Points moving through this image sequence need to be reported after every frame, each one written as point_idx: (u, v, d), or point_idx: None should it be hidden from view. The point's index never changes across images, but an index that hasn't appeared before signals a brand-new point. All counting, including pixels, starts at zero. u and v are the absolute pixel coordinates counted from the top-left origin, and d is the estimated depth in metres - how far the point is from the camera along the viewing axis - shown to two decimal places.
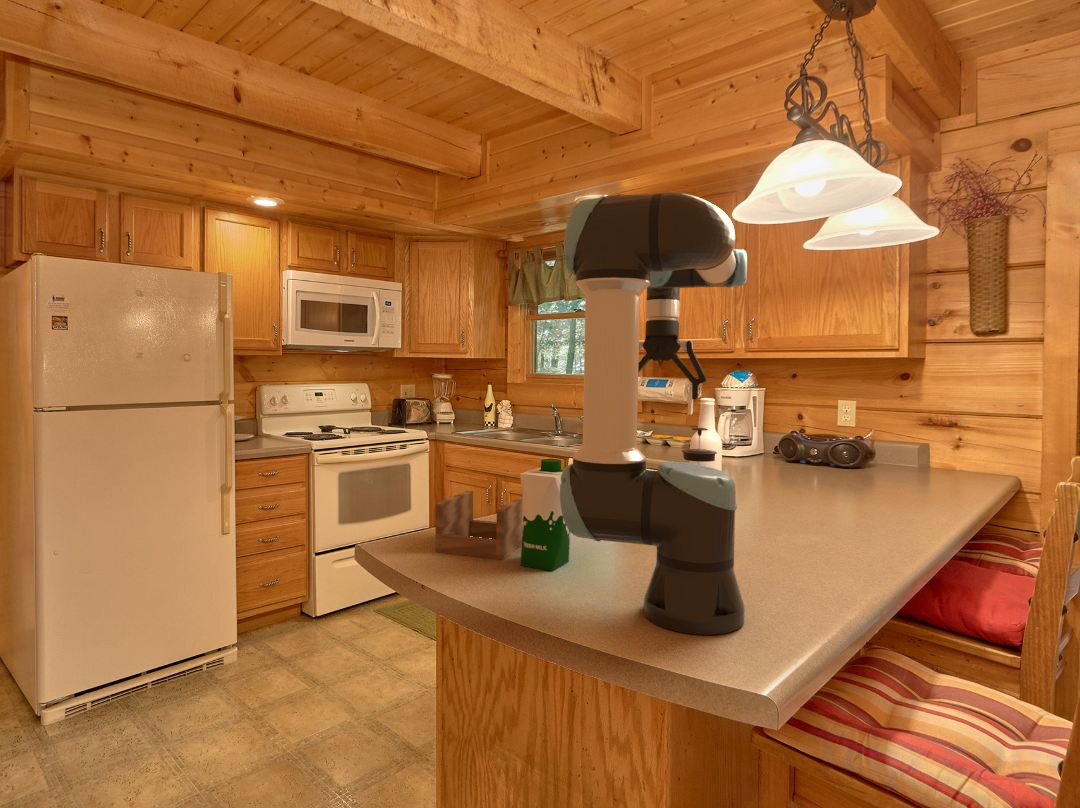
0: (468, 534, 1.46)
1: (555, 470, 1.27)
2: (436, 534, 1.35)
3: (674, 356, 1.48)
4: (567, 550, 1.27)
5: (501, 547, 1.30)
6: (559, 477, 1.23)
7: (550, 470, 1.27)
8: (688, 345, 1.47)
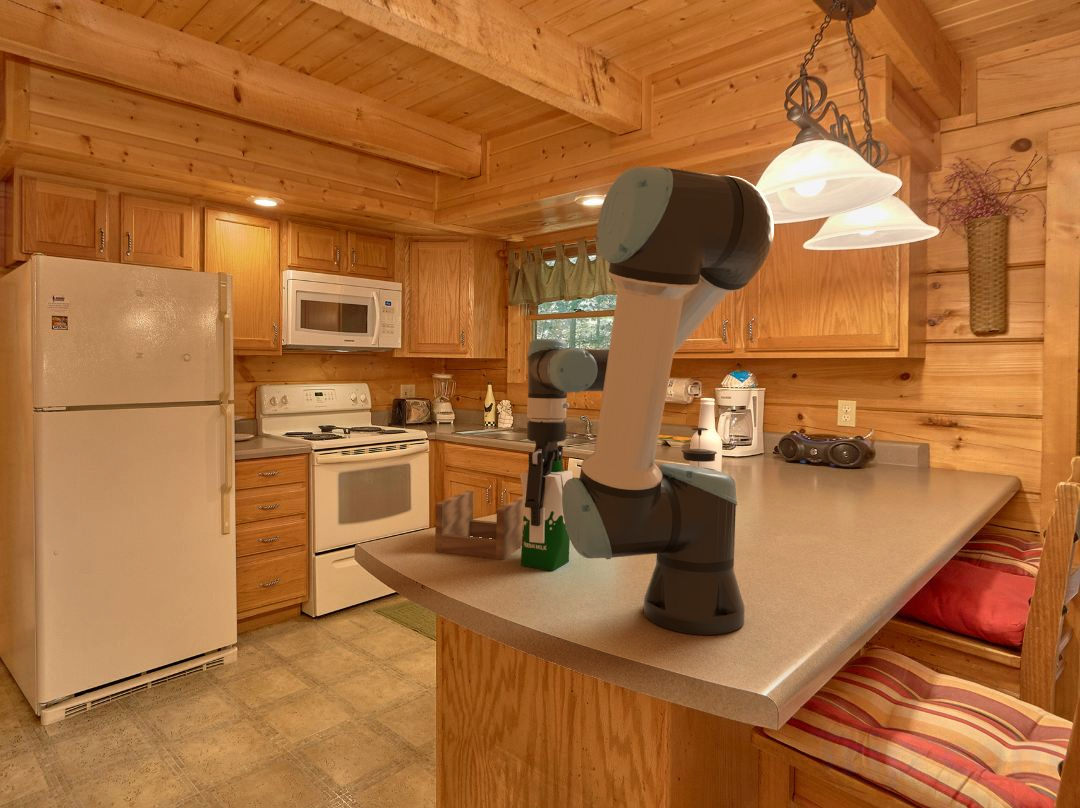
0: (468, 534, 1.46)
1: (555, 470, 1.27)
2: (436, 534, 1.35)
3: None
4: (567, 550, 1.27)
5: (501, 547, 1.30)
6: (559, 477, 1.23)
7: None
8: None
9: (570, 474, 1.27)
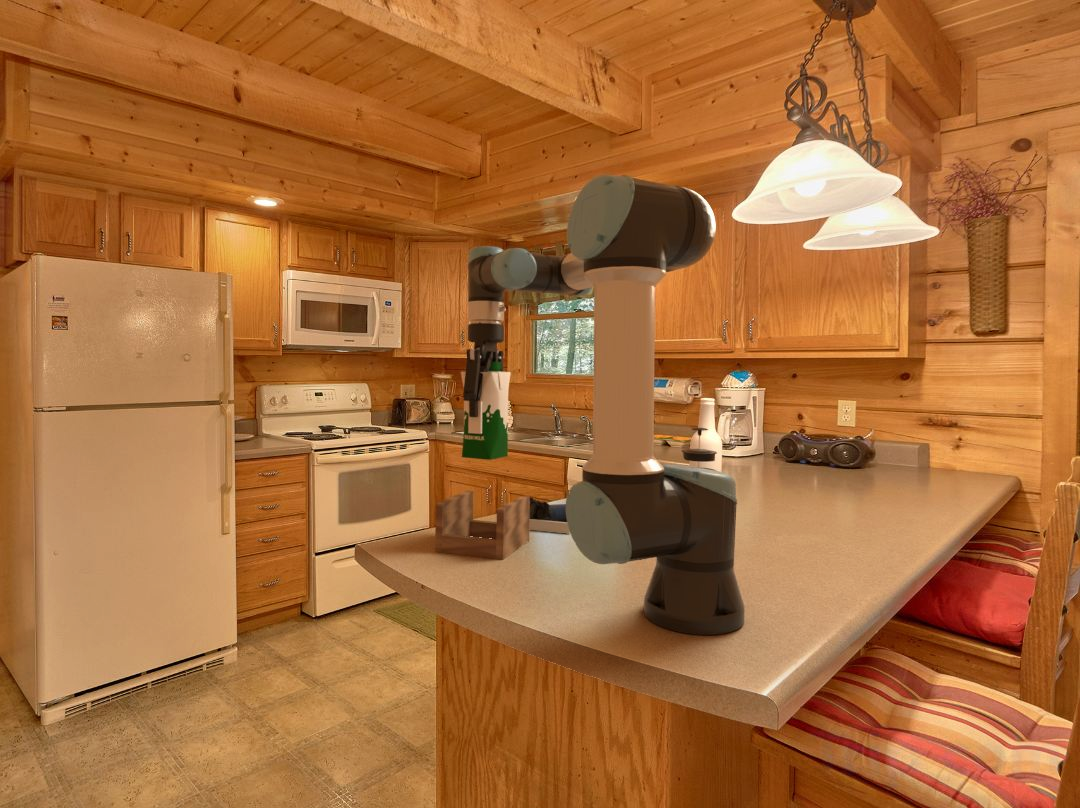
0: (468, 534, 1.46)
1: (494, 370, 1.38)
2: (436, 534, 1.35)
3: None
4: (505, 444, 1.38)
5: (501, 547, 1.30)
6: (496, 373, 1.34)
7: (489, 370, 1.37)
8: None
9: (508, 374, 1.38)
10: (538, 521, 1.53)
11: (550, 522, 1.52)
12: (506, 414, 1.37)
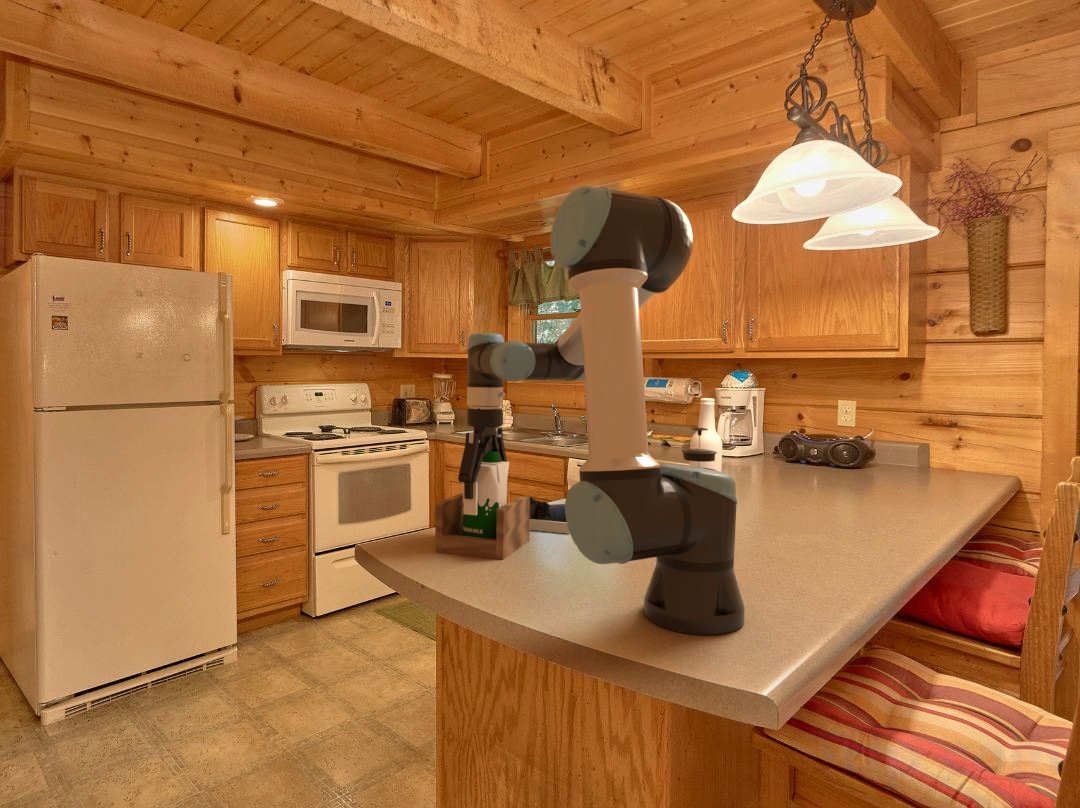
0: None
1: (493, 461, 1.38)
2: (436, 534, 1.35)
3: None
4: None
5: (501, 547, 1.30)
6: (495, 467, 1.35)
7: (488, 460, 1.38)
8: None
9: (507, 464, 1.39)
10: (538, 521, 1.53)
11: (550, 522, 1.52)
12: None
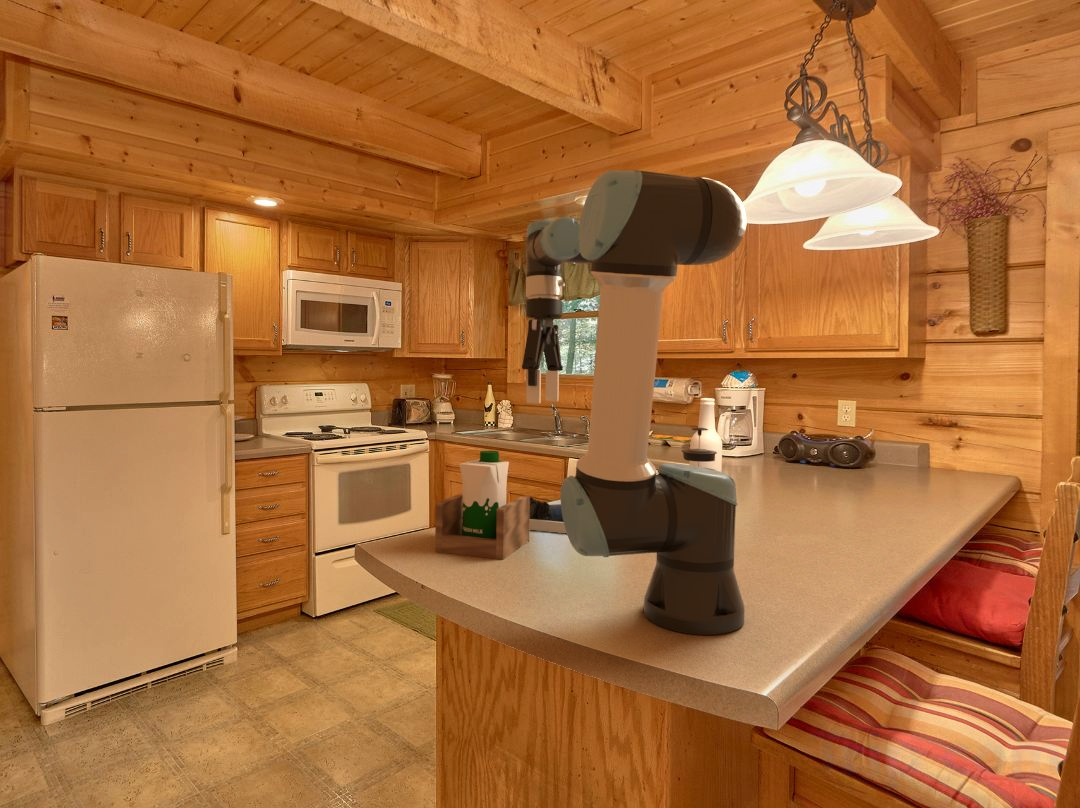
0: None
1: (492, 461, 1.38)
2: (436, 534, 1.35)
3: None
4: None
5: (501, 547, 1.30)
6: (494, 467, 1.35)
7: (488, 460, 1.38)
8: None
9: (506, 464, 1.39)
10: (538, 521, 1.53)
11: (550, 522, 1.52)
12: None
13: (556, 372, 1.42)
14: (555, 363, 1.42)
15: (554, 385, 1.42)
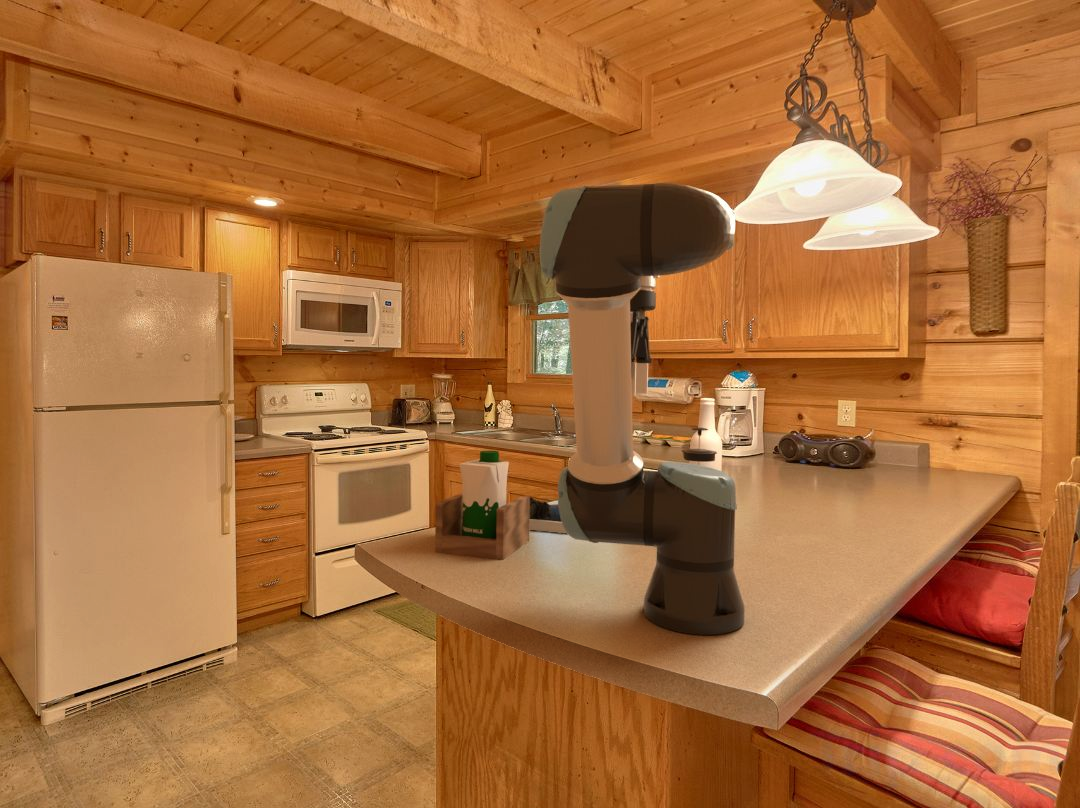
0: None
1: (492, 461, 1.38)
2: (436, 534, 1.35)
3: None
4: None
5: (501, 547, 1.30)
6: (494, 467, 1.35)
7: (488, 460, 1.38)
8: None
9: (506, 464, 1.39)
10: (538, 521, 1.53)
11: (550, 522, 1.52)
12: None
13: (646, 364, 1.41)
14: (645, 355, 1.41)
15: (643, 377, 1.41)
